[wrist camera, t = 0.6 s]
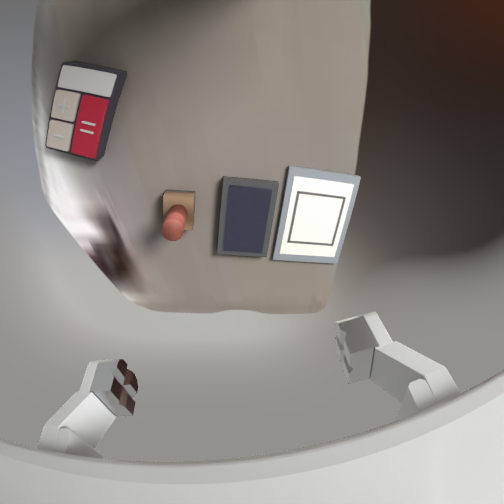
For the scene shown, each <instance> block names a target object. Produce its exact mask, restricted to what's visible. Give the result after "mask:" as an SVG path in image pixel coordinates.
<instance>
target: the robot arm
mask: <svg viewBox="0 0 504 504" xmlns="http://www.w3.org/2000/svg"><path fill="white" fill-rule="evenodd" d="M335 330H336V333H337V336H336V337H335V344H336V350H337V354H338V357H339V360H340V361H341V362H342V363H343V371H344V374H345V376H346V379H347V382H348V384H351V383H354V382H358V381H362V380H366V379H369V378H370V380H371V381H373V382H374V383H375V384H377V385H378V386H379V387H381V388H382V389H383V390H384V391H386V392H387V393H388V394H390V395H391V396H392V397H394V398H395V399H396V400H398V401H399V402H400V403H402V404H401V407H400V409H399V411H398V414H397V416H396V418H395V419H396V421H395V422H392V423H389V424H387V425H384V426H380V427H377V428H374V429H371V430H369V431H365V432H362V433H359V434H355V435H352V436H348V437H344V438H341V439H338V440H333V441H329V442H325V443H321V444H317V445H312V446H308V447H303V448H298V449H293V450H288V451H282V452H276V453H270V454H263V455H257V456H249V457H240V458H232V459H220V460H207V461H184V462H147V461H126V460H112V459H103V456H102V454H101V453H99V452H98V451H97V450H95V449H94V448H95V447H96V445H97V444H98V442H99V441H100V440H101V438H102V437H103V435H104V434H105V432H106V431H107V429H108V428H109V427H110V425H111V424H112V422H113V421H114V420H115V418H116V417H115V416H133V413H134V408H135V400H134V399H133V397H134V396H135V395H136V394H137V391H138V382H137V378H136V376H135V374H134V373H133V372H132V371H130V370H129V369H127V363H126V362H125V361H124V360H123V359H116V360H100V361H91V362H90V363H89V364H88V367H87V369H86V372H85V375H84V379H83V381H82V385H81V387H80V391H79V392H76V393H75V394H74V395H73V396H72V397H71V398H70V399H69V400H68V401H67V402H66V403H65V404H64V405H63V406H62V407H61V408H60V409H59V410H58V411H57V412H56V413H55V414H54V415H53V416H52V417H51V418H50V420H48V421H47V422H46V424H45V425H44V428H43V431H42V434H41V438H40V441H39V445H38V448H34V447H30V446H26V445H22V444H18V443H14V442H10V441H7V440H4V439H0V504H504V370H502V371H501V372H499V373H497V374H496V375H494V376H492V377H490V378H489V379H487V380H485V381H483V382H481V383H480V384H478V385H476V386H474V387H472V388H470V389H469V390H466V391H464V392H462V393H460V391H459V390H458V388H457V386H456V384H455V383H454V381H453V379H452V377H451V375H450V374H449V372H448V370H447V369H446V367H444V366H442V365H440V364H438V363H436V362H435V361H433V360H431V359H429V358H427V357H425V356H423V355H422V354H420V353H418V352H416V351H414V350H412V349H410V348H408V347H406V346H405V345H402V344H401V343H399V342H397V341H395V342H392V340H391V338H390V336H389V334H388V333H387V331H386V329H385V327H384V325H383V324H382V322H381V320H380V318H379V317H378V315H377V313H376V312H370V313H367V314H364V315H359V316H356V317H353V318H348V319H345V320H341V321H337V322H336V323H335Z"/></svg>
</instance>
